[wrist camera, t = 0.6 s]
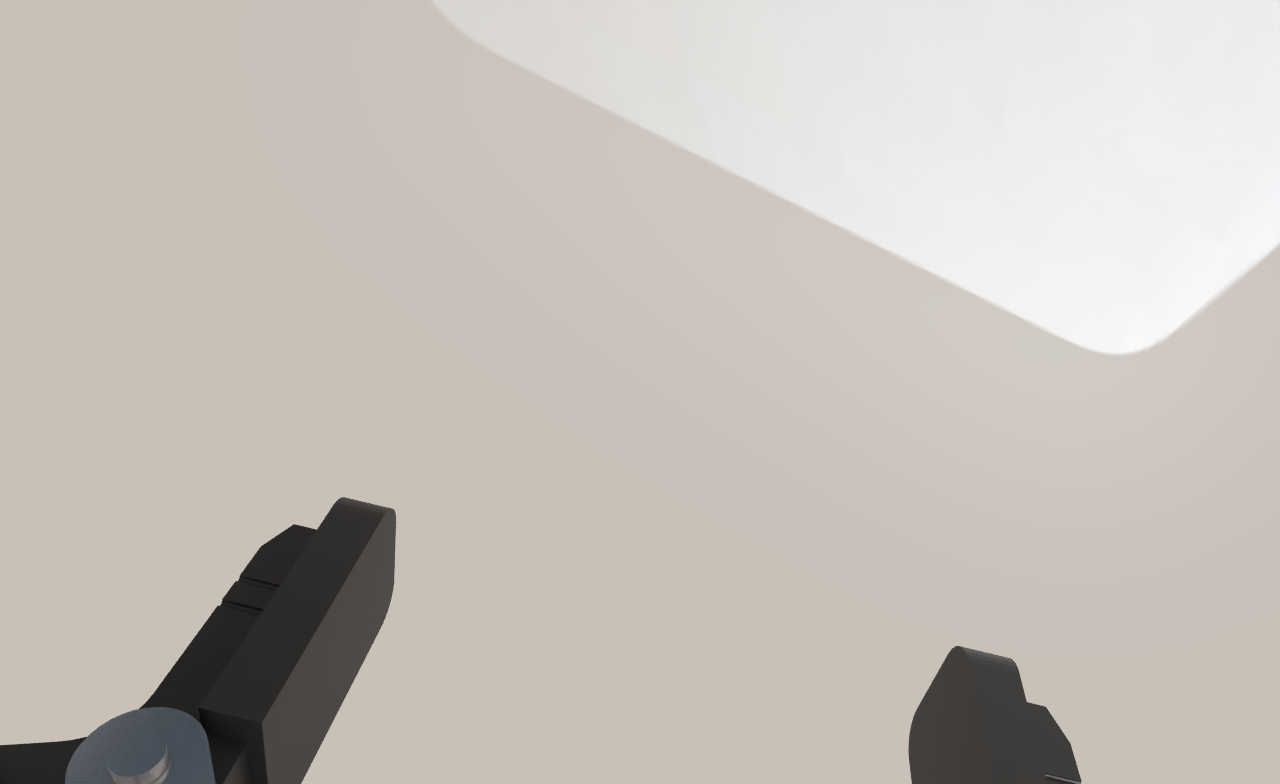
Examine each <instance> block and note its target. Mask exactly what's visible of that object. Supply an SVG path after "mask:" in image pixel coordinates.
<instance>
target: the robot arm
mask: <svg viewBox="0 0 1280 784" xmlns="http://www.w3.org/2000/svg"><path fill="white" fill-rule="evenodd" d="M395 534H396V514H395V511H394V509H391V508H386V507H382V506H378V505H374V504H370V503H366V502H361V501H357V500H353V499H349V498H345V497H343V498H340V499H338V500H337V501H336V503H335V504H334V505H333V507H332V508H331V510H330V511H329V513H328V514H327V516H326V517H325V519H324V520H323V522H322V523H321V525H320V526H319V528H318V529H317V530H315V529H311V528H307V527H303V526H299V525H295V524H294V525H292V526H291V527H290V528H288V529H286V530H285V531H283V532H282V533H280V534H279V535H277V536H276V537H275V538H273V539H271V540H270V541H268V542H267V543H266V544H264V545H262V546H261V547H260V549H259V550H258V551H257V553H256V554H255V555H254V557H253V558H252V560H251V561H250V562H249V564H248V565H247V567H246V568H245V569H244V571H243V572H242V573H241V575H240V578H239V580H238V582H237V581H236V582H235V583H234V584H233V586H232V587H231V588H230V590H229V591H228V592H227V594H226V595H225V596H224V598H223V599H222V600H223V601H222V604H221V605H220V606H217V607H216V609H215V610H214V612H213V613H212V614H211V616H210V617H209V618H208V620H207V621H206V623H205V624H204V625H203V627H202V628H201V629H200V631H199V632H198V634H197V635H196V636H195V638H194V639H193V640H192V642H191V643H190V644H189V646H188V647H187V649H186V650H185V651H184V653H183V654H182V655H181V657H180V658H179V660H178V661H177V662H176V664H175V665H174V666H173V668H172V669H171V671H170V672H169V673H168V674H167V676H166V677H165V679H164V680H163V681H162V683H161V684H160V685H159V687H158V688H157V690H156V691H155V692H154V694H153V695H152V696H151V697H150V698H149V700H148V701H147V702H146V703H145V704H144V705H143V706H142V707H141V708H139V709H138V710H133V711H130V712H127V713H125V714H122V715H120V716H117V717H115V718H113V719H111V720H109V721H108V722H106V723H104V724H103V725H101V726H100V727H98V728H97V729H96V730H95V731H93V732H92V733H91V734H90V735H89V736H88V737H84V738H80V739H75V740H69V741H60V742H46V743H30V744H15V745H0V784H301V783H302V781H303V779H304V777H305V775H306V773H307V771H308V769H309V767H310V765H311V763H312V761H313V759H314V757H315V755H316V753H317V751H318V749H319V748H320V745H321V744H322V742H323V740H324V738H325V736H326V734H327V732H328V730H329V728H330V726H331V724H332V722H333V720H334V718H335V716H336V714H337V712H338V710H339V708H340V707H341V704H342V703H343V700H344V699H345V697H346V695H347V693H348V691H349V689H350V687H351V685H352V683H353V681H354V679H355V677H356V675H357V673H358V671H359V669H360V667H361V665H362V664H363V662H364V660H365V658H366V656H367V653H368V652H369V650H370V648H371V646H372V644H373V642H374V640H375V638H376V636H377V634H378V632H379V630H380V628H381V626H382V624H383V622H384V619H385V617H386V614H387V611H388V608H389V605H390V601H391V597H392V592H393V586H394V567H395ZM909 762H910V770H911V779H912V784H1081V778H1080V775H1079V772H1078V768H1077V765H1076V761H1075V758H1074V755H1073V751H1072V747H1071V744H1070V742H1069V741H1068V739H1067V738H1066V736H1065V735H1064V733H1063V732H1062V730H1061V729H1060V727H1059V726H1058V724H1057V723H1056V721H1055V720H1054V718H1053V717H1052V715H1051V714H1050V712H1049V711H1048V709H1047V708H1046V707H1044V706H1040V705H1036V704H1032V703H1028V702H1027V701H1026V698H1025V694H1024V690H1023V686H1022V682H1021V678H1020V674H1019V670H1018V668H1017V665H1016V663H1015V662H1014V661H1013V660H1012V659H1011V658H1006V657H1002V656H998V655H993V654H990V653H985V652H981V651H977V650H972V649H969V648H964V647H960V646H955V647H954V648H953V649H952V650H951V651H950V652H949V654H948V655H947V657H946V659H945V661H944V662H943V664H942V666H941V668H940V669H939V671H938V673H937V675H936V677H935V678H934V680H933V682H932V684H931V685H930V687H929V689H928V691H927V692H926V694H925V696H924V698H923V699H922V701H921V703H920V705H919V707H918V708H917V710H916V712H915V715H914V717H913V721H912V725H911V729H910V736H909Z"/></svg>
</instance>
